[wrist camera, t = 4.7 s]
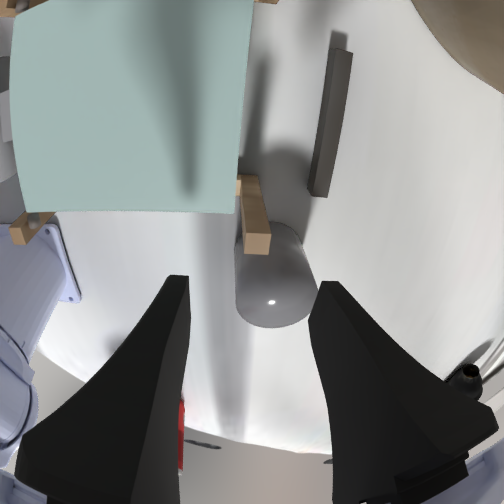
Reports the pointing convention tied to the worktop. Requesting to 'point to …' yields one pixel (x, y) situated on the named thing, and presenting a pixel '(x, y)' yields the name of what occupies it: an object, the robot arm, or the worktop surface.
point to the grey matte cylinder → (274, 281)
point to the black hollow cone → (468, 381)
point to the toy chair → (247, 186)
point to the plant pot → (469, 34)
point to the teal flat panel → (125, 104)
